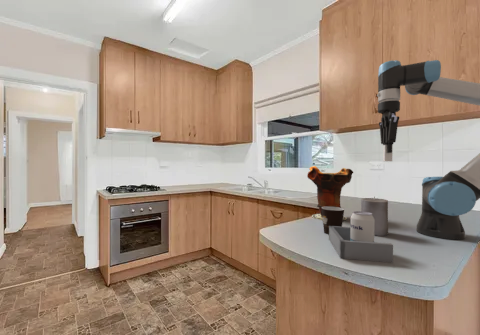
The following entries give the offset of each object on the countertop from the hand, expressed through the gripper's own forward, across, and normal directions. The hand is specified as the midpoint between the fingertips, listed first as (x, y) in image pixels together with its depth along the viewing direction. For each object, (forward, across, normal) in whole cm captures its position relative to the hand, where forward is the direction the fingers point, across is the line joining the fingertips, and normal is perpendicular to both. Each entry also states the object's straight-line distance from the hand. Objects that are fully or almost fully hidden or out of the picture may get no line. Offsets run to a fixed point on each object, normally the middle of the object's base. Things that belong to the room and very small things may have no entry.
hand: (387, 161), depth 95 cm
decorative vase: (+30, -29, -17) cm, 45 cm away
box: (+29, +21, -17) cm, 40 cm away
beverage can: (+30, +21, -15) cm, 39 cm away
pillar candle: (+30, -2, -4) cm, 30 cm away
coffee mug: (+30, +1, -21) cm, 36 cm away
